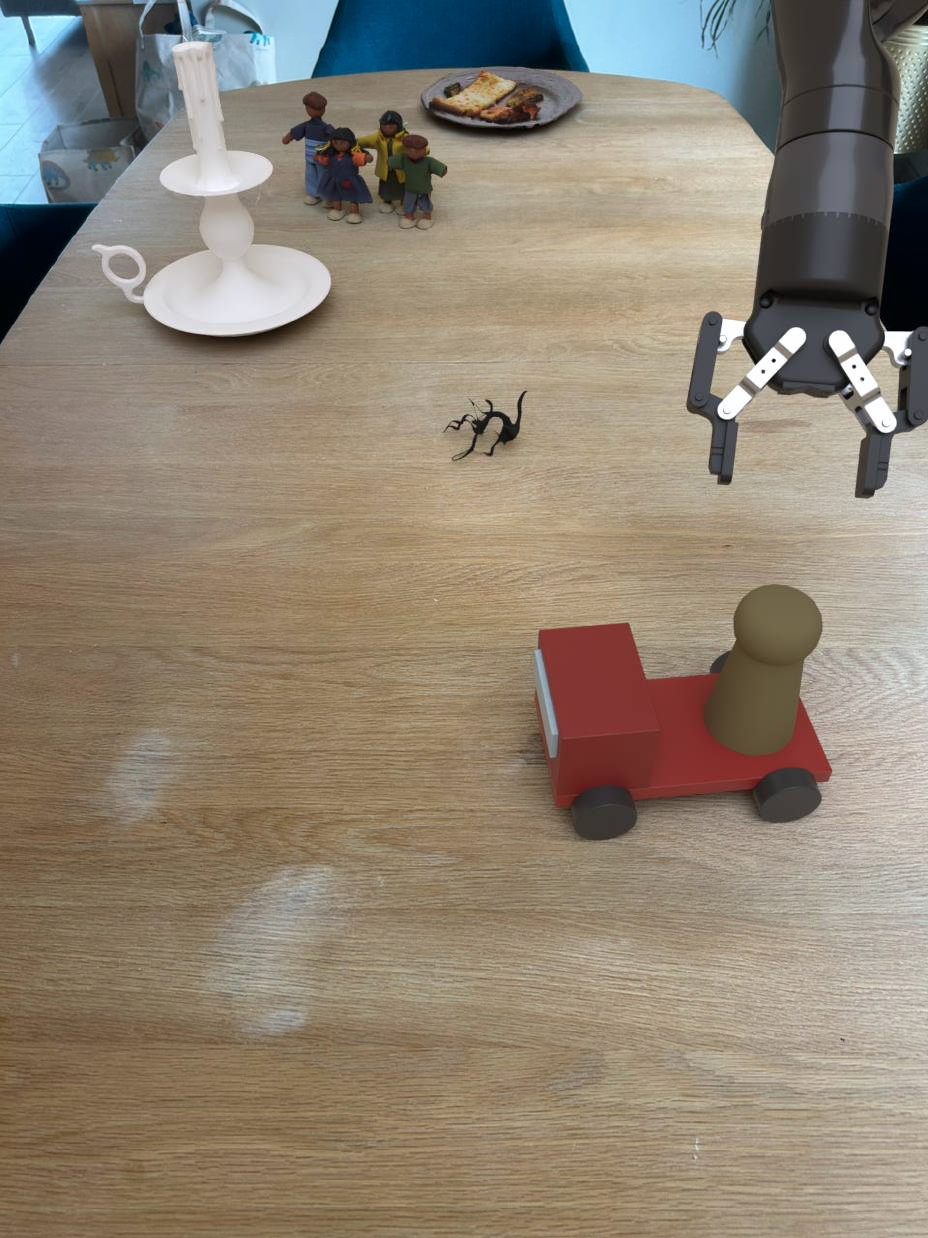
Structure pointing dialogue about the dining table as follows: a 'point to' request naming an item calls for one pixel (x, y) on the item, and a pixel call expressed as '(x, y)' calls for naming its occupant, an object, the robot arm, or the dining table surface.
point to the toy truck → (650, 736)
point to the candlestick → (221, 232)
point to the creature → (506, 434)
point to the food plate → (501, 97)
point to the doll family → (340, 158)
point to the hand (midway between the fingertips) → (793, 490)
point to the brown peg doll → (763, 670)
